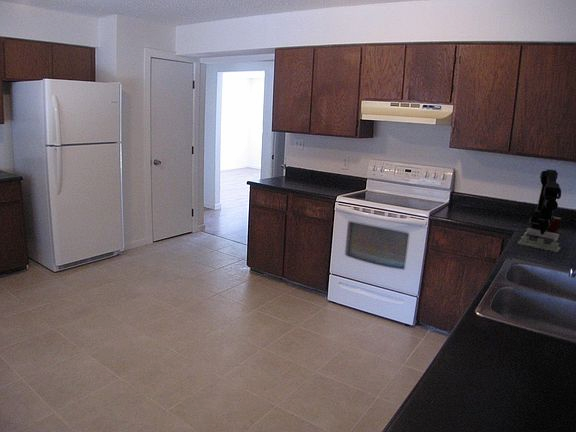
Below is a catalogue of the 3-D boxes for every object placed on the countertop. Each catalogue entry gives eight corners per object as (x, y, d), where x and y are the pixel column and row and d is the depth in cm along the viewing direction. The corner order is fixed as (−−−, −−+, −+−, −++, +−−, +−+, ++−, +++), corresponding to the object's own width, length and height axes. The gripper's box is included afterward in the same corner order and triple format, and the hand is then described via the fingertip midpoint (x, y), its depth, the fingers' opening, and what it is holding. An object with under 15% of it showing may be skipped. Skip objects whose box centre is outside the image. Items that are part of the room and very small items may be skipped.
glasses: (527, 232, 269) (528, 227, 268) (558, 238, 259) (559, 233, 259) (523, 234, 262) (525, 229, 261) (555, 241, 252) (556, 236, 252)
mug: (541, 229, 306) (544, 214, 304) (554, 231, 304) (558, 216, 302) (546, 233, 296) (549, 217, 294) (559, 235, 294) (563, 219, 292)
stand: (522, 240, 272) (523, 233, 271) (560, 248, 260) (562, 242, 259) (517, 243, 264) (519, 236, 263) (557, 252, 252) (558, 245, 251)
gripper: (535, 202, 270) (530, 228, 274) (528, 206, 256) (522, 233, 259) (557, 206, 264) (551, 232, 267) (551, 210, 249) (545, 238, 253)
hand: (542, 234), depth 262 cm, fingers closed on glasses, 2 cm apart
